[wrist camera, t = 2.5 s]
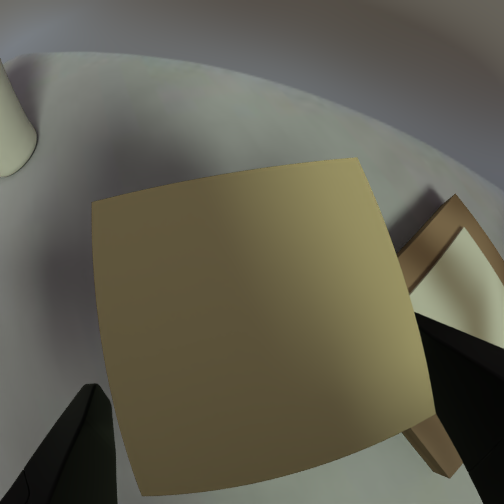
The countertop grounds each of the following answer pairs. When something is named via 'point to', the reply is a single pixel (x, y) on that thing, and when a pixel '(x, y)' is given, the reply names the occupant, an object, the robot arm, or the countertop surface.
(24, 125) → the drinking glass
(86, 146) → the countertop surface
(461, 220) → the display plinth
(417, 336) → the tea tin
